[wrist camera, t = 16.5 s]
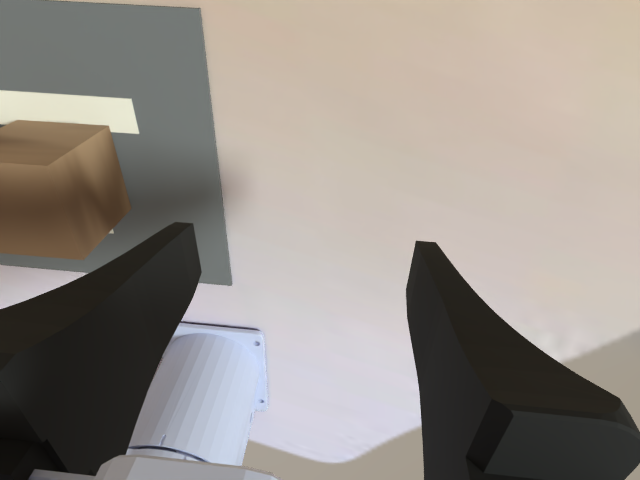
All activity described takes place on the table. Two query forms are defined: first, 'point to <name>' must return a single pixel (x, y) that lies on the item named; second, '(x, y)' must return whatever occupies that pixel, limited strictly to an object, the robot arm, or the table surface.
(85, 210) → the walnut cube
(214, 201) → the letter mat
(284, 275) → the table surface
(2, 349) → the robot arm
